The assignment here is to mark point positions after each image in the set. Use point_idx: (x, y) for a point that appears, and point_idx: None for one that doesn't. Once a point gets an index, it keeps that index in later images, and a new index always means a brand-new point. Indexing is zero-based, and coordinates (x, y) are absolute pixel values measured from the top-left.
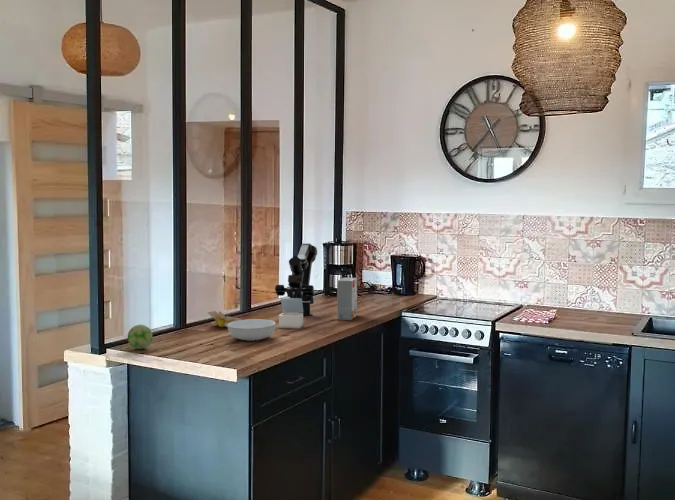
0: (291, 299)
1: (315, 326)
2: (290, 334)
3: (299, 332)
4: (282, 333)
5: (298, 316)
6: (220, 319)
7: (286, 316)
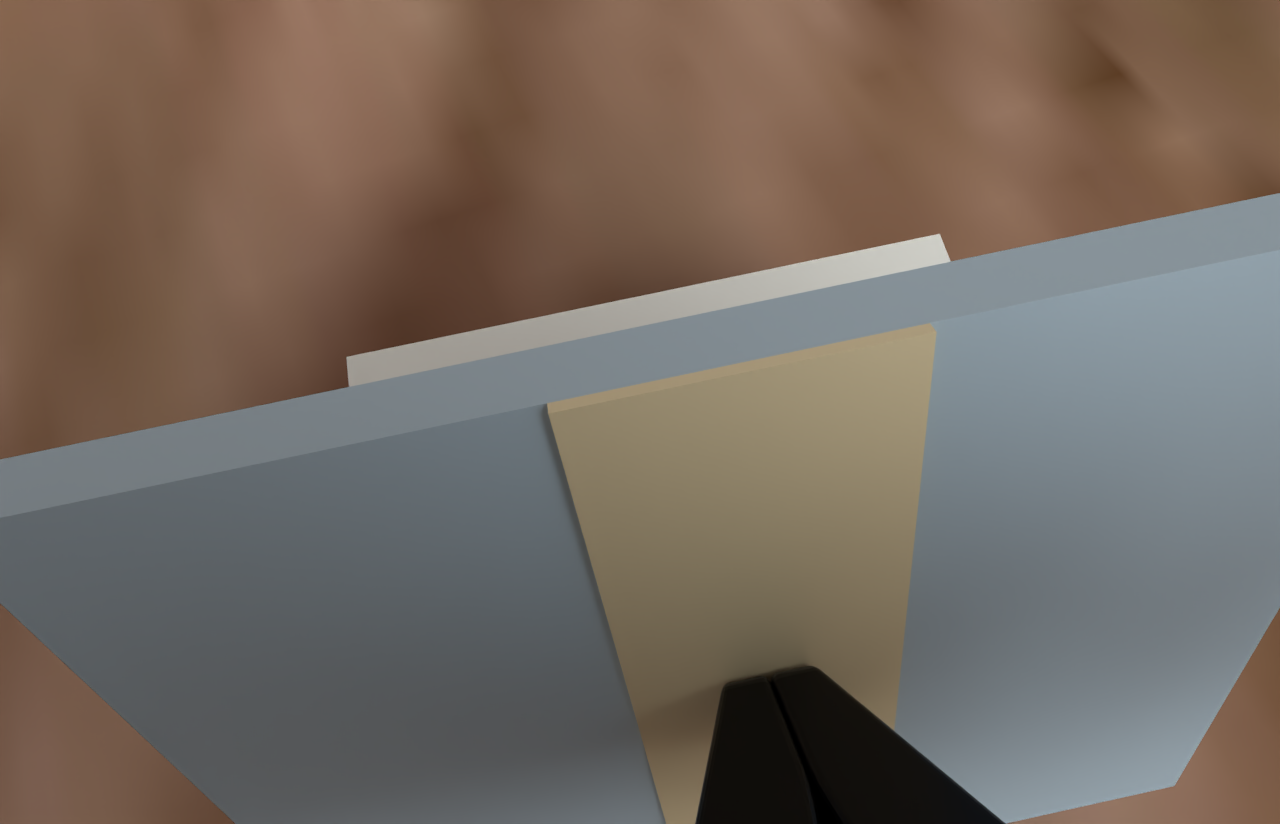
0: (697, 342)
1: (176, 816)
2: (435, 2)
3: (344, 163)
4: (582, 18)
5: (387, 354)
6: None
7: (723, 290)
